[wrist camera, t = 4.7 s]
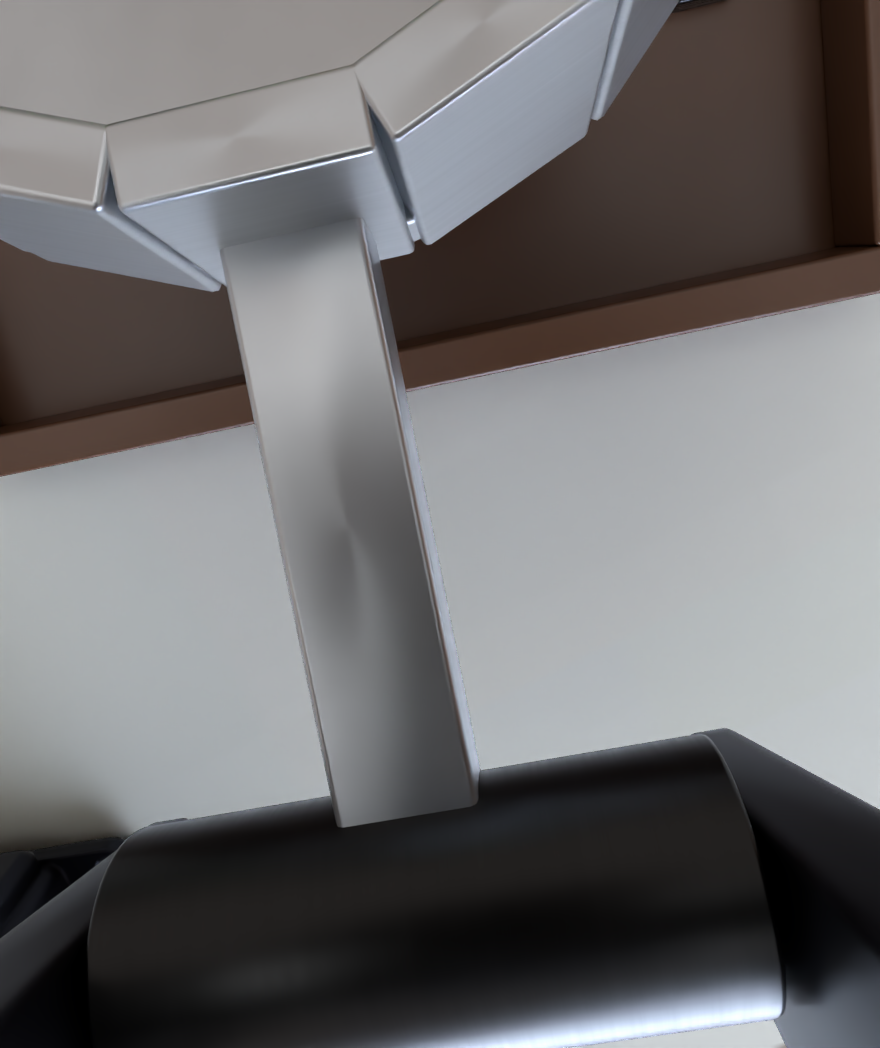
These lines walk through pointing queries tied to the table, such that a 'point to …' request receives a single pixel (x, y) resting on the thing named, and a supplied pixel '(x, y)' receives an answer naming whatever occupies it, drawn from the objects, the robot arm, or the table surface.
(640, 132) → the tray
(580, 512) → the table surface
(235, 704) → the table surface
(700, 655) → the table surface
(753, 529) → the table surface
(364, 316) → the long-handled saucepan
